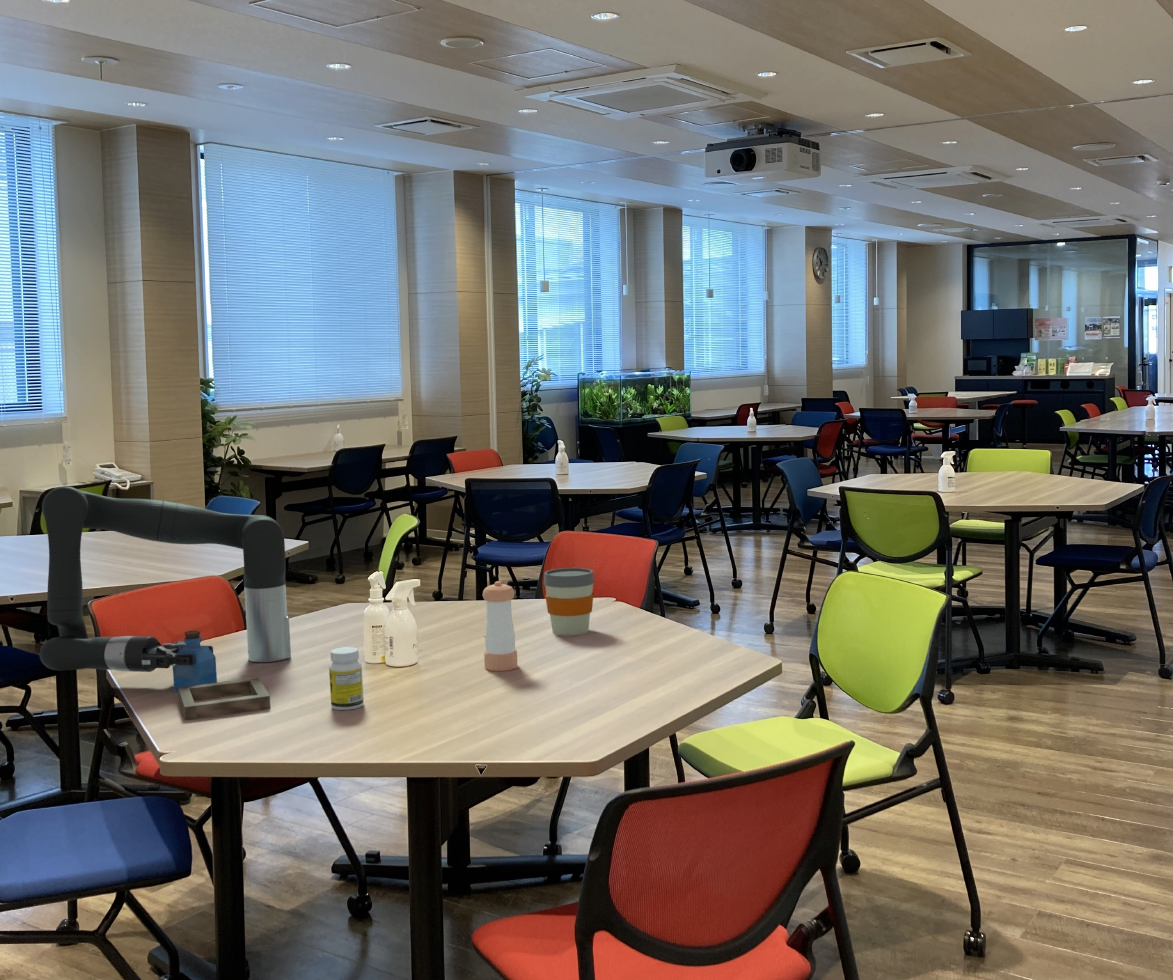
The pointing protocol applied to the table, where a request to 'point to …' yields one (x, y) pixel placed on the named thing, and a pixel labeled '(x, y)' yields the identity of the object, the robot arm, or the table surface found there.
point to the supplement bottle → (346, 679)
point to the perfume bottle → (201, 669)
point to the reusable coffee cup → (569, 599)
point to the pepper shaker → (499, 628)
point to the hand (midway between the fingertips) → (203, 655)
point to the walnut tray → (225, 706)
